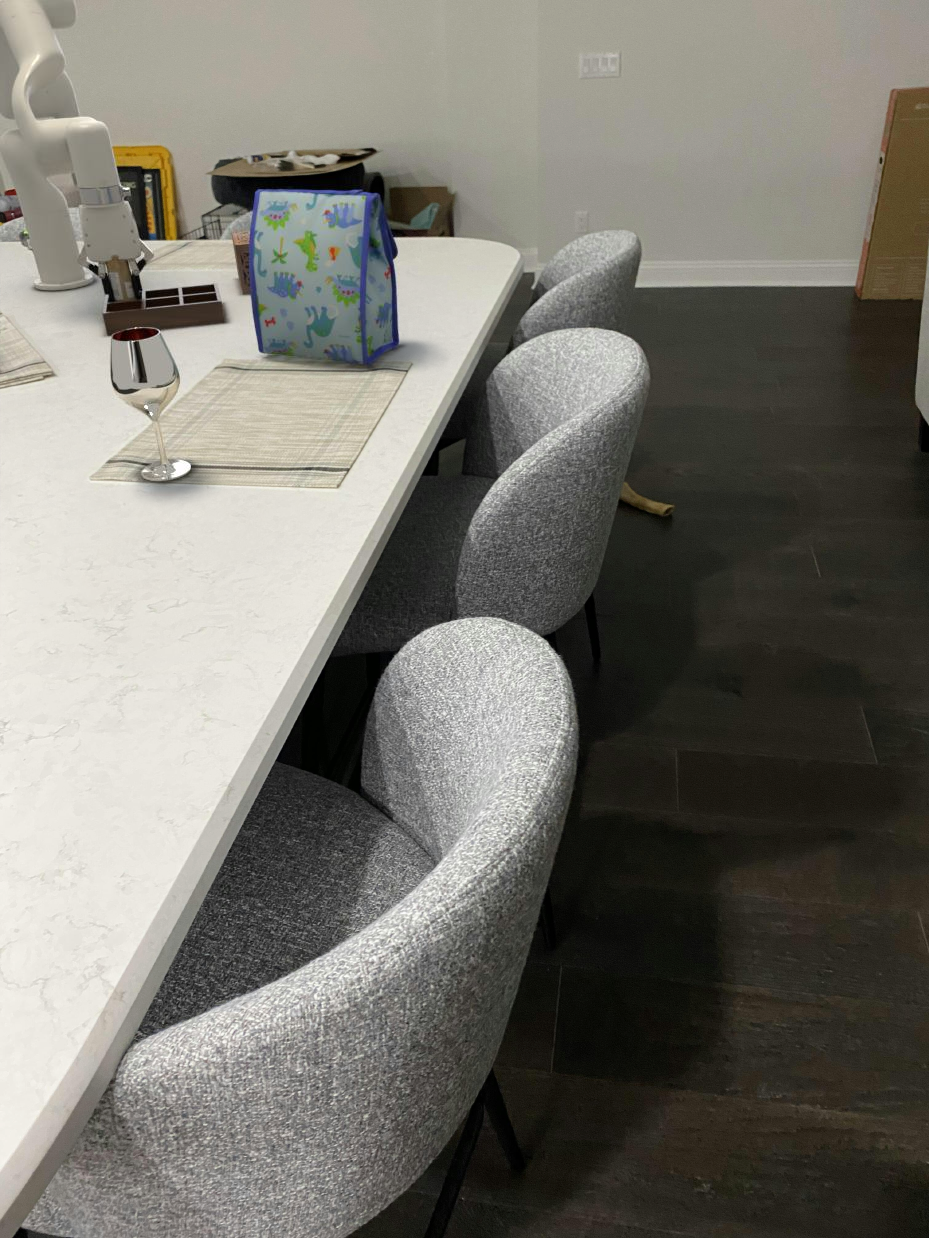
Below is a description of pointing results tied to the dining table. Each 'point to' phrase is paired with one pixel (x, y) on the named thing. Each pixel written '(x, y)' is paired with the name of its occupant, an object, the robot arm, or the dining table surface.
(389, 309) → the lunch bag
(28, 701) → the dining table surface
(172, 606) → the dining table surface
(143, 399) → the wineglass
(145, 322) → the tray
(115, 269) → the sprinkles bottle
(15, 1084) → the dining table surface
